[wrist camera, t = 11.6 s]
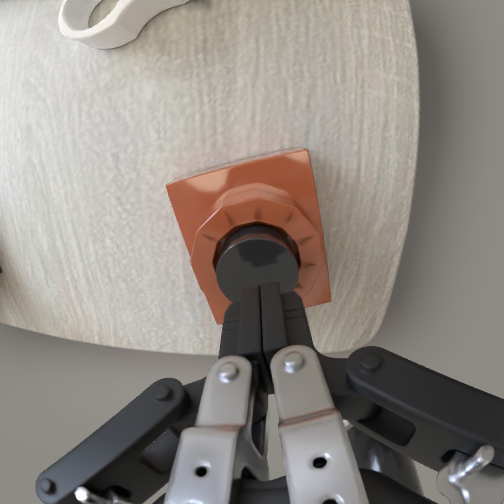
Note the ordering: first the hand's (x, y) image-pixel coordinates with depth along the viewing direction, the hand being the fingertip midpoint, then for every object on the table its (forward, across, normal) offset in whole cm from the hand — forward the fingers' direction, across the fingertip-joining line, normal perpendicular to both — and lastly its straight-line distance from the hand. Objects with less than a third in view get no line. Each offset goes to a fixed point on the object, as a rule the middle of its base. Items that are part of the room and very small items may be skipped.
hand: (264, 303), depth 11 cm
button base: (+8, 0, 0) cm, 8 cm away
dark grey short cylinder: (+4, 0, 0) cm, 4 cm away
